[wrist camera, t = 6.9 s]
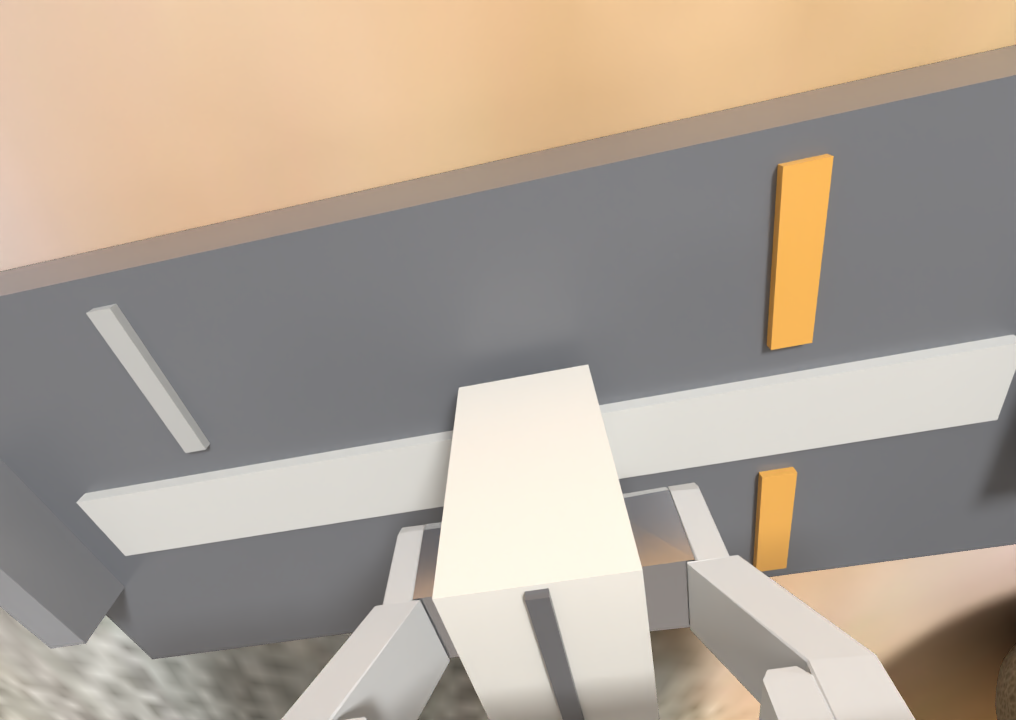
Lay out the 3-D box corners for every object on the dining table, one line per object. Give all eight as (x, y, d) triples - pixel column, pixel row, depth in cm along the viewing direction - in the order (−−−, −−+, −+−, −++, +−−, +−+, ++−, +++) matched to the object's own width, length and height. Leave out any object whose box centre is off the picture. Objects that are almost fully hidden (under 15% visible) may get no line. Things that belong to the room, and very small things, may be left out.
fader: (613, 533, 13) (665, 762, 9) (510, 548, 13) (513, 778, 9) (588, 364, 10) (645, 578, 6) (458, 388, 10) (430, 608, 6)
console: (967, 477, 16) (1093, 595, 12) (191, 591, 19) (120, 715, 15) (1128, 19, 10) (1464, 8, 6) (-72, 287, 12) (-291, 382, 9)
